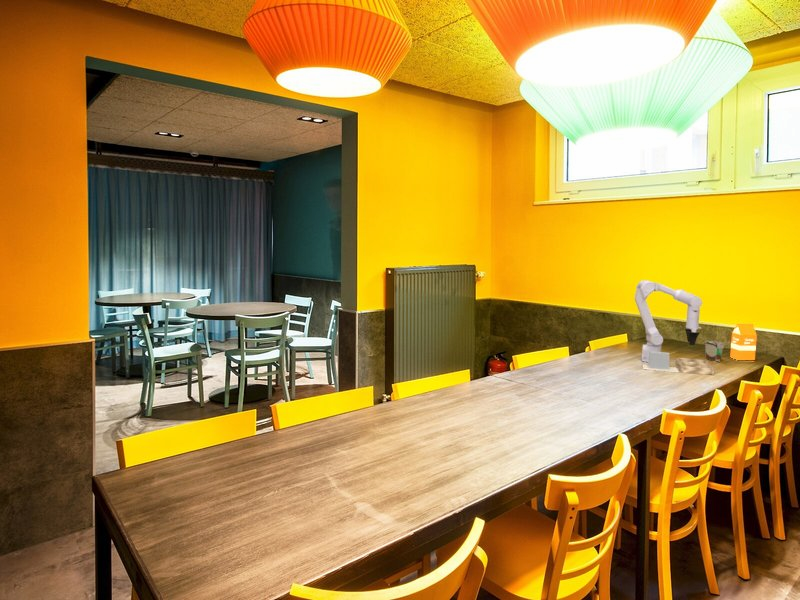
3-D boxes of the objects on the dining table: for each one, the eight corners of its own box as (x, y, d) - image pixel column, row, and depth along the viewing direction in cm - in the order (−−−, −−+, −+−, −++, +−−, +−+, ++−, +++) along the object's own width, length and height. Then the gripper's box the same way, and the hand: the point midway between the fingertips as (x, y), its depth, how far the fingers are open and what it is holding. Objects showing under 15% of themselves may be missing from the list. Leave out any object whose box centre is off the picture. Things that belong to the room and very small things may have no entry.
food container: (728, 363, 279) (729, 344, 278) (716, 363, 279) (718, 344, 278) (715, 358, 291) (716, 340, 290) (703, 358, 291) (705, 340, 290)
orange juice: (754, 361, 284) (757, 325, 282) (738, 361, 284) (741, 324, 282) (745, 358, 292) (748, 322, 290) (729, 358, 292) (732, 322, 290)
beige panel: (643, 369, 263) (643, 368, 263) (642, 365, 273) (642, 364, 273) (678, 372, 258) (678, 372, 257) (676, 368, 267) (676, 367, 267)
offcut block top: (689, 368, 259) (689, 363, 258) (689, 366, 262) (690, 361, 262) (700, 369, 256) (700, 364, 256) (700, 367, 259) (701, 362, 259)
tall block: (668, 369, 262) (669, 353, 261) (648, 367, 266) (649, 352, 265) (667, 368, 265) (669, 352, 264) (648, 366, 268) (649, 351, 268)
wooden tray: (680, 372, 258) (680, 364, 258) (675, 363, 278) (676, 355, 278) (713, 375, 253) (714, 367, 253) (706, 365, 273) (706, 358, 273)
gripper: (703, 320, 269) (701, 346, 270) (699, 317, 282) (697, 341, 283) (688, 319, 271) (686, 345, 273) (684, 316, 285) (682, 340, 286)
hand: (691, 343), depth 278 cm, fingers open, 7 cm apart
